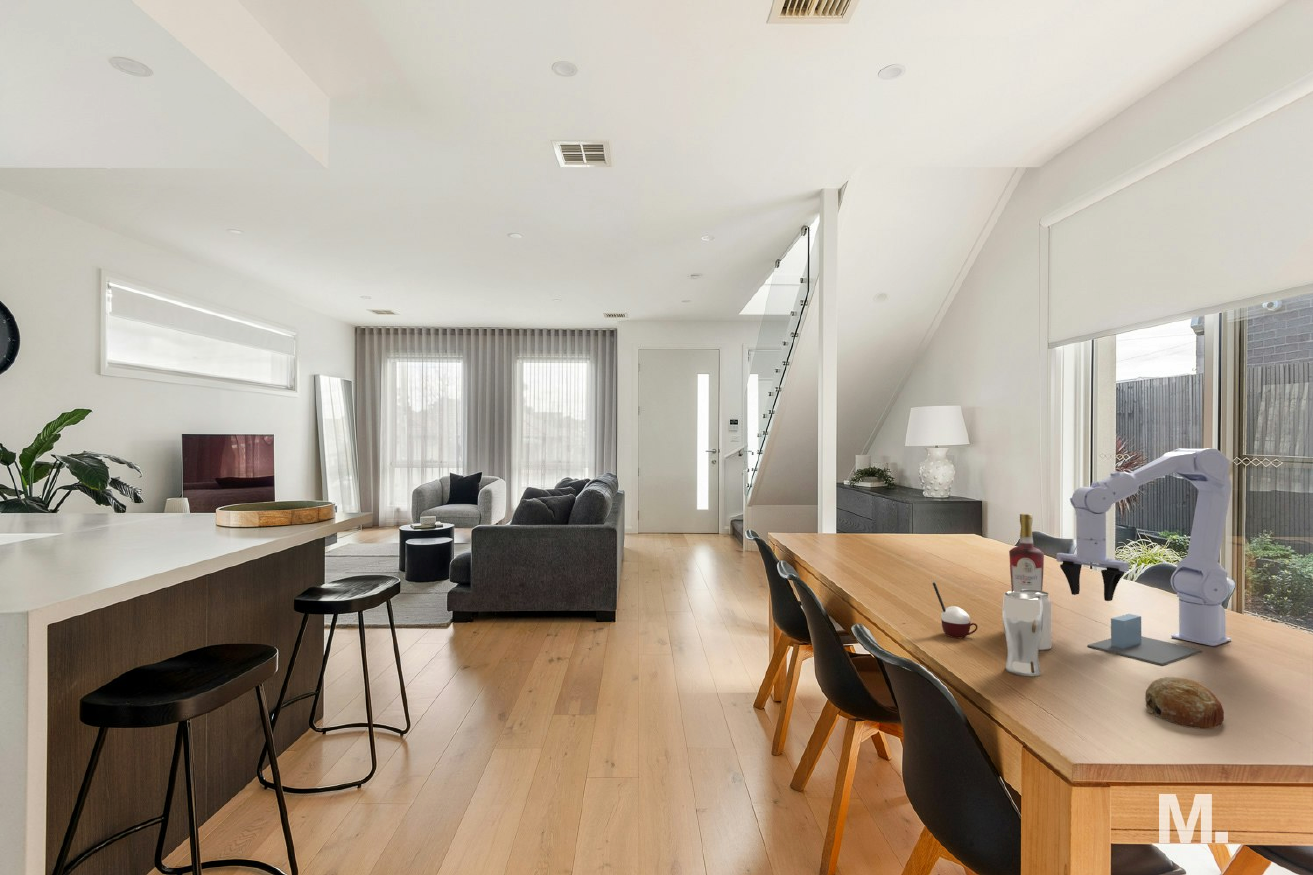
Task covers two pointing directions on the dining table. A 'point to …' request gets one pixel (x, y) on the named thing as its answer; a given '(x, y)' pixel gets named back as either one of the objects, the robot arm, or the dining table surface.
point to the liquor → (1026, 560)
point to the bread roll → (1184, 703)
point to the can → (1044, 618)
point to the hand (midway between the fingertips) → (1091, 597)
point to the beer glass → (1023, 632)
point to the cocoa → (954, 620)
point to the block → (1126, 631)
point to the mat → (1149, 650)
